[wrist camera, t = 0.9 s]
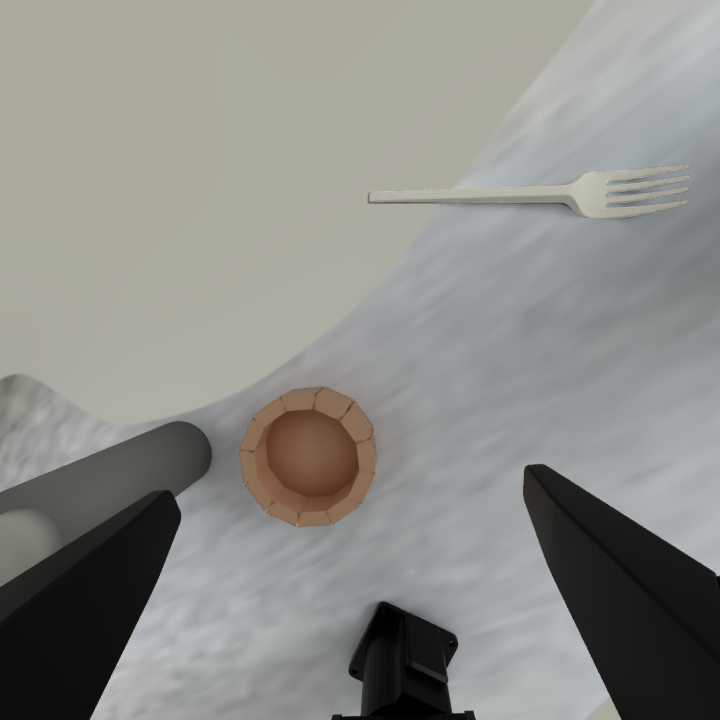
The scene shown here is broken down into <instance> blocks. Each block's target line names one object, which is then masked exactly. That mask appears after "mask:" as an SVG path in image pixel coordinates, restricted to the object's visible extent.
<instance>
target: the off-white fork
mask: <svg viewBox="0 0 720 720" xmlns="http://www.w3.org/2000/svg"><path fill="white" fill-rule="evenodd" d="M690 166H691V165H690V164H686V165H676V166H666V167H654V168H644V169H632V170H614V171H605V172H603V173H602V174H600V173H598V172H588V173H585V174H582V175H580V176H578V177H577V178H575V179H574V180H573V181H572V182H570V183H569V184H566V185H552V186H524V187H495V188H466V189H438V190H408V191H380V192H369V194H368V204H441V202H446V203H565V204H567V205H568V206H569V207H570V208H571V209H572V210H573V212H574V213H576V214H577V215H579V216H582V217H586V218H600V219H620V218H629V217H634V216H639V215H644V214H649V213H653V212H657V211H661V210H666V209H670V208H673V207H677V206H681V205H684V204H686V203H687V202H688V201H678V202H671V203H663V204H654V205H645V206H633V207H614V208H608V207H606V204H608V203H628V202H635V201H640V200H646V199H652V198H657V197H663V196H668V195H673V194H678V193H682V192H686V191H688V189H689V188H687V187H685V188H678V189H672V190H665V191H657V192H650V193H642V194H634V195H625V196H615V197H608V196H607V193H610V192H628V191H634V190H640V189H645V188H651V187H656V186H661V185H666V184H671V183H676V182H680V181H684V180H687V179H689V178H690V176H680V177H674V178H668V179H661V180H655V181H648V182H640V183H632V184H624V185H615V186H608V182H612V181H628V180H634V179H639V178H645V177H650V176H655V175H660V174H665V173H670V172H674V171H679V170H683V169H687V168H689V167H690Z"/></svg>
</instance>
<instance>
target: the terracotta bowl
mask: <svg viewBox="0 0 720 720" xmlns="http://www.w3.org/2000/svg"><path fill="white" fill-rule="evenodd" d="M240 448H241V450H240V459H241V466H242V473H243V480H244V482H247V483H246V484H245V486H246V487H247V489H248V490H249V491H250V493H251V494H252V495H253V497H254V498H255V499H256V501H257V502H258V503H259V505H260V506H261V507H262V509H263V510H264V511H265V510H266V509H267V508H268V510H267V512H266V513H268V514H270V515H272V516H274V517H276V518H279V519H281V520H283V521H285V522H287V523H289V524H291V525H293V526H296V524H297V522H298V527H307V526H323V525H330V524H331V522H332V523H333V524H334V523H335V522H337V521H338V520H340V519H341V518H343V517H344V516H346V515H347V514H349V513H350V512H352V511H353V510H355V509H356V508H358V507H359V504H361V503H362V501H363V499H364V497H365V495H366V492H367V490H368V488H369V486H370V484H371V482H372V479H373V477H374V474H375V466H376V448H375V439H374V430H373V427H372V424H371V422H370V421H369V420H368V418H367V417H366V416H365V414H364V413H363V412H362V410H361V409H360V408H359V406H358V405H357V403H356V402H355V401H354V402H353V401H352V399H351V398H349V397H346V396H344V395H342V394H340V393H338V392H335V391H333V390H331V389H329V388H326V387H325V388H324V389H323V387H314V388H304V389H294V390H291V391H290V392H288V393H286V394H285V395H283V396H281V397H280V398H278V399H277V400H275V401H274V402H273V403H271V404H270V405H269V406H267V407H266V408H265V409H263V410H262V411H261V412H259V413H258V414H257V415H255V416H254V418H253V419H252V420H251V422H250V424H249V427H248V429H247V432H246V434H245V437H244V439H243V441H242V444H241V446H240Z"/></svg>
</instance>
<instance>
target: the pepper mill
mask: <svg viewBox="0 0 720 720" xmlns="http://www.w3.org/2000/svg"><path fill="white" fill-rule="evenodd" d="M211 455H212V454H211V447H210V444H209V441H208V439H207V437H206V436H205V434H204V433H203V432H202V431H201V430H200V429H199V428H197V427H196V426H194V425H192V424H190V423H187V422H181V421H176V422H171V423H168V424H166V425H163V426H161V427H158V428H156V429H153V430H151V431H148V432H146V433H144V434H141V435H139V436H136V437H134V438H131V439H129V440H127V441H124V442H122V443H119V444H117V445H114V446H112V447H109V448H107V449H105V450H102V451H100V452H97V453H95V454H92V455H90V456H88V457H85V458H83V459H80V460H78V461H75V462H73V463H71V464H68V465H66V466H63V467H61V468H58V469H56V470H53V471H51V472H49V473H46V474H44V475H41V476H39V477H36V478H34V479H32V480H29V481H27V482H24V483H22V484H19V485H17V486H15V487H12V488H10V489H7V490H5V491H3V492H1V493H0V587H1V586H2V585H4V584H5V583H7V582H9V581H10V580H12V579H13V578H15V577H17V576H18V575H20V574H21V573H23V572H25V571H26V570H28V569H29V568H31V567H33V566H34V565H36V564H37V563H39V562H40V561H42V560H44V559H45V558H47V557H48V556H50V555H52V554H53V553H55V552H56V551H58V550H60V549H61V548H63V547H64V546H66V545H67V544H69V543H71V542H72V541H74V540H75V539H77V538H79V537H80V536H82V535H83V534H85V533H87V532H88V531H90V530H91V529H93V528H94V527H96V526H98V525H99V524H101V523H102V522H104V521H106V520H107V519H109V518H110V517H112V516H114V515H115V514H117V513H118V512H120V511H122V510H123V509H125V508H126V507H128V506H129V505H131V504H133V503H134V502H136V501H137V500H139V499H141V498H142V497H144V496H145V495H147V494H149V493H150V492H152V491H155V490H166V489H167V490H170V491H171V492H172V493H173V495H174V497H176V496H178V495H179V494H180V493H182V492H183V491H184V490H185V489H187V488H188V487H189V486H191V485H192V484H193V483H195V482H196V481H197V480H198V479H200V478H201V477H202V476H203V475H204V474H205V473H206V471H207V470H208V468H209V466H210V463H211Z"/></svg>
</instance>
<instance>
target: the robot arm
mask: <svg viewBox="0 0 720 720" xmlns="http://www.w3.org/2000/svg"><path fill="white" fill-rule="evenodd" d="M523 496H524V501H525V504H526V507H527V510H528V512H529V515H530V518H531V521H532V524H533V526H534V529H535V532H536V535H537V537H538V540H539V543H540V546H541V549H542V551H543V554H544V557H545V559H546V562H547V565H548V567H549V569H550V572H551V574H552V576H553V578H554V580H555V583H556V585H557V587H558V589H559V591H560V593H561V595H562V597H563V599H564V601H565V603H566V605H567V607H568V610H569V612H570V614H571V616H572V618H573V620H574V622H575V624H576V626H577V628H578V630H579V632H580V634H581V637H582V639H583V641H584V643H585V645H586V647H587V649H588V651H589V653H590V655H591V657H592V659H593V661H594V664H595V666H596V668H597V670H598V672H599V674H600V676H601V678H602V680H603V682H604V684H605V686H606V688H607V691H608V693H609V695H610V697H611V699H612V701H613V703H614V705H615V707H616V709H617V711H618V713H619V715H620V717H621V719H622V720H720V576H716V573H715V572H714V571H712V570H710V569H709V568H707V567H706V566H704V565H703V564H701V563H699V562H698V561H696V560H695V559H693V558H691V557H690V556H688V555H687V554H685V553H684V552H682V551H680V550H679V549H677V548H676V547H674V546H673V545H671V544H669V543H668V542H666V541H665V540H663V539H662V538H660V537H658V536H657V535H655V534H654V533H652V532H650V531H649V530H647V529H646V528H644V527H643V526H641V525H639V524H638V523H636V522H635V521H633V520H632V519H630V518H628V517H627V516H625V515H624V514H622V513H621V512H619V511H617V510H616V509H614V508H613V507H611V506H610V505H608V504H606V503H605V502H603V501H602V500H600V499H598V498H597V497H595V496H594V495H592V494H591V493H589V492H587V491H586V490H584V489H583V488H581V487H580V486H578V485H576V484H575V483H573V482H572V481H570V480H569V479H567V478H565V477H564V476H562V475H561V474H559V473H557V472H556V471H554V470H553V469H551V468H550V467H548V466H546V465H544V464H533V465H527V466H526V467H525V469H524V484H523ZM180 521H181V512H180V509H179V507H178V505H177V502H176V500H175V497H174V495H173V493H172V492H171V491H170V490H167V489H166V490H155V491H152V492H150V493H149V494H147V495H145V496H144V497H142V498H141V499H139V500H137V501H136V502H134V503H133V504H131V505H129V506H128V507H126V508H125V509H123V510H122V511H120V512H118V513H117V514H115V515H114V516H112V517H110V518H109V519H107V520H106V521H104V522H102V523H101V524H99V525H98V526H96V527H94V528H93V529H91V530H90V531H88V532H87V533H85V534H83V535H82V536H80V537H79V538H77V539H75V540H74V541H72V542H71V543H69V544H67V545H66V546H64V547H63V548H61V549H60V550H58V551H56V552H55V553H53V554H52V555H50V556H48V557H47V558H45V559H44V560H42V561H40V562H39V563H37V564H36V565H34V566H33V567H31V568H29V569H28V570H26V571H25V572H23V573H21V574H20V575H18V576H17V577H15V578H13V579H12V580H10V581H9V582H7V583H5V584H4V585H2V586H1V587H0V720H90V718H91V716H92V714H93V712H94V710H95V708H96V706H97V704H98V702H99V700H100V698H101V696H102V694H103V692H104V690H105V687H106V685H107V683H108V681H109V679H110V677H111V675H112V673H113V671H114V669H115V667H116V665H117V663H118V661H119V659H120V657H121V655H122V653H123V651H124V649H125V647H126V645H127V643H128V641H129V639H130V637H131V634H132V632H133V630H134V628H135V626H136V624H137V622H138V620H139V618H140V616H141V614H142V612H143V610H144V608H145V606H146V604H147V602H148V600H149V598H150V596H151V594H152V592H153V589H154V587H155V585H156V583H157V581H158V578H159V576H160V573H161V571H162V568H163V566H164V563H165V561H166V558H167V556H168V553H169V550H170V548H171V545H172V543H173V540H174V538H175V535H176V532H177V530H178V527H179V525H180ZM382 609H386V611H383V610H382ZM449 641H453V642H451V643H450V642H449ZM457 647H458V640H457V637H456V635H454V634H452V633H450V632H448V631H446V630H444V629H442V628H440V627H438V626H436V625H434V624H432V623H430V622H428V621H426V620H424V619H421V618H419V617H417V616H415V615H413V614H411V613H408V612H406V611H404V610H402V609H400V608H398V607H396V606H394V605H391V604H389V603H387V602H381V603H379V604H378V606H377V608H376V610H375V612H374V614H373V616H372V619H371V621H370V623H369V625H368V627H367V629H366V631H365V633H364V635H363V637H362V639H361V641H360V643H359V645H358V647H357V650H356V652H355V654H354V656H353V658H352V660H351V662H350V664H349V674H350V676H352V677H354V678H356V679H358V680H360V681H362V682H363V688H362V702H361V715H360V716H342V715H341V714H335V715H333V716H332V719H331V720H476V719H475V715H474V712H473V711H464V713H452V708H451V702H450V696H449V690H448V684H447V683H448V676H447V670H446V669H447V667H448V665H449V663H450V661H451V659H452V657H453V655H454V653H455V651H456V649H457ZM354 668H355V669H357V670H355V669H354Z"/></svg>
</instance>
